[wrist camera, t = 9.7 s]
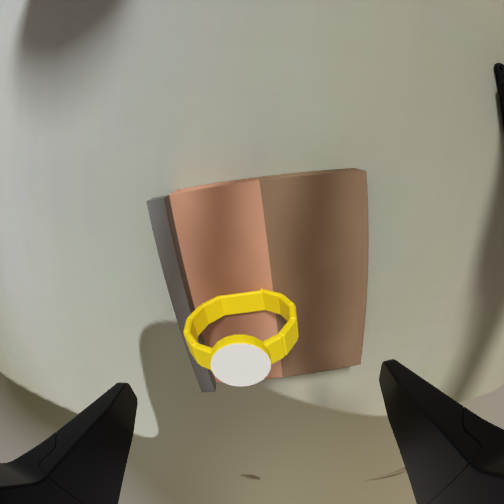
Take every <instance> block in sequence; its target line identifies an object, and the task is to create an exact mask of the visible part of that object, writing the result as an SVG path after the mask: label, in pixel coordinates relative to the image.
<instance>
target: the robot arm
mask: <svg viewBox="0 0 504 504" xmlns="http://www.w3.org/2000/svg"><path fill="white" fill-rule="evenodd" d="M495 71H496V76H497V81H498V86H499V92H500V98H501V105H502V113H503V122H504V65H503V64H501V63H496V64H495ZM379 382H380V387H381V391H382V395H383V399H384V403H385V407H386V411H387V415H388V419H389V422H390V424H391V427H392V430H393V433H394V436H395V438H396V441H397V444H398V447H399V449H400V453H401V455H402V458H403V461H404V464H405V467H406V470H407V473H408V476H409V480H410V482H411V486H412V489H413V492H414V496H415V499H416V502H417V504H504V430H503V429H501V428H499V427H497V426H495V425H493V424H491V423H489V422H488V421H486V420H484V419H482V418H480V417H479V416H477V415H476V414H474V413H473V412H471V411H470V410H468V409H467V408H465V407H464V408H463V406H462V405H461V404H459V403H458V402H456V401H455V400H453V399H452V398H450V397H449V396H447V395H446V394H444V393H443V392H441V391H440V390H439V389H437V388H436V387H434V386H433V385H431V384H430V383H428V382H427V381H425V380H424V379H422V378H421V377H420V376H418V375H417V374H415V373H414V372H412V371H411V370H409V369H408V368H406V367H405V366H403V365H402V364H401V363H399V362H398V361H396V360H394V359H391V360H387V361H384V362H383V363H382V367H381V372H380V377H379ZM136 410H137V397H136V395H135V394H134V392H133V390H132V388H131V386H130V385H129V384H128V383H117V384H116V385H114V386H113V387H112V388H111V389H109V390H108V391H107V392H106V393H104V394H103V395H102V396H101V397H99V398H98V399H97V400H96V401H94V402H93V403H92V404H91V405H89V406H88V407H87V408H86V409H84V410H83V411H82V412H81V413H79V414H78V415H77V416H76V417H74V418H73V419H72V420H71V421H69V422H68V423H67V424H65V425H64V426H63V427H62V428H60V429H59V430H58V431H57V433H54V434H53V435H51V436H50V437H49V438H48V439H46V440H45V441H43V442H42V443H41V444H39V445H38V446H36V447H35V448H33V449H32V450H30V451H28V452H27V453H25V454H23V455H22V456H20V457H19V458H17V459H15V460H13V461H11V462H8V463H0V504H118V501H119V496H120V491H121V486H122V481H123V476H124V472H125V467H126V463H127V458H128V454H129V450H130V446H131V442H132V437H133V431H134V424H135V417H136Z"/></svg>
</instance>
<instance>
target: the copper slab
mask: <svg viewBox="0 0 504 504" xmlns="http://www.w3.org/2000/svg"><path fill="white" fill-rule="evenodd" d="M147 206H148V210H149V215H150V220H151V224H152V229H153V233H154V237H155V241H156V245H157V250H158V254H159V258H160V261H161V265H162V269H163V273H164V277H165V280H166V284H167V288H168V291H169V295H170V298H171V302H172V305H173V308H174V312H175V315H176V318H177V321H178V325H179V328H180V331H181V334H182V337H183V340H184V343H185V346H186V349H187V352H188V355H189V358H190V361H191V364H192V366H193V369H194V372H195V375H196V378H197V380H198V383H199V385H200V388H201V391H202V392H215V388H216V382H222V381H220V380H219V379H218V378H217V377H215V376H214V374H213V373H212V371H211V370H210V369H207V368H205V367H202V366H201V365H200V364H198V363H197V361H196V360H195V359H194V357H193V356H192V354H191V353H190V350H189V348H188V345H187V342H186V340H185V337H184V333H183V331H184V327H185V323H186V319H187V318H188V316H189V315H190V314H191V313H192V312H193V311H194V310H195V309H196V308H197V307H198V306H199V305H200V306H201V304H203V303H205V302H207V301H209V300H210V299H212V298H214V297H216V296H222V295H229V294H237V293H244V292H251V291H258V290H260V289H263V290H264V289H266V290H270V291H274V292H278V293H281V294H283V295H285V296H286V297H287V298H288V299H290V300H291V301H292V302H293V303H294V304H295V306H296V314H297V323H298V336H299V337H298V340H297V342H296V343H295V345H294V346H293V347H292V349H291V350H290V352H289V353H288V354H287V355H286V356H285V357H284V358H282V359H280V360H278V361H277V362H275V363H273V364H271V369H270V371H269V373H268V375H267V376H266V377H265V378H264V379H269V378H278V377H287V376H294V375H302V374H309V373H315V372H322V371H328V370H333V369H339V368H344V367H349V366H354V365H359V364H360V363H361V355H362V346H363V337H364V327H365V315H366V301H367V282H368V194H367V175H366V171H364V170H360V169H356V168H350V169H335V170H323V171H311V172H301V173H291V174H282V175H273V176H265V177H257V178H249V179H242V180H235V181H228V182H221V183H214V184H208V185H202V186H196V187H190V188H184V189H179V190H177V191H175V192H173V193H172V194H170V195H166V196H161V197H156V198H152V199H150V200H148V201H147ZM286 323H287V320H286V319H285V318H284V317H283V316H282V315H280V314H277V313H274V312H270V311H267V310H263V311H256V312H248V313H241V314H233V315H225V316H223V317H221V318H219V319H218V320H216V321H214V322H212V323H210V324H208V325H207V327H206V328H205V329H204V330H203V331H202V332H201V333H200V335H199V336H198V341H197V342H198V343H199V344H202V345H205V346H208V347H211V348H213V346H214V345H215V344H216V343H217V342H218V341H219V340H221V339H223V338H224V337H227V336H231V335H239V334H244V335H249V336H253V337H255V338H257V339H259V340H261V341H262V342H263V341H265V340H267V339H269V338H271V337H273V336H275V335H276V334H278V333H279V332H280V330H281V329H282V328H283V327H284V325H285V324H286Z"/></svg>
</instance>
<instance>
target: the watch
mask: <svg viewBox="0 0 504 504" xmlns="http://www.w3.org/2000/svg"><path fill="white" fill-rule="evenodd" d="M263 310H267V311H270V312H274V313H277V314H280V315H282V316H283V317H284V318H285V319H286V320H287V323H286V324H285V325H284V327H283V328H282V329H281V330H280V332H279V333H278V334H276V335H275V336H273V337H271V338H269V339H267V340H265V341H263V342H262V341H261V340H259V339H257V338H255V337H253V336H249V335H244V334H239V335H231V336H227V337H224V338H223V339H221V340H219V341H218V342H217V343H216V344H215V345H214V346H213V348H211V347H208V346H205V345H202V344H199V343H198V342H197V341H198V336H199V335H200V333H201V332H202V331H203V330H204V329H205V328H206V327H207V325H208V324H210V323H212V322H214V321H216V320H218V319H219V318H221V317H223V316H225V315H233V314H241V313H248V312H256V311H263ZM183 333H184V337H185V340H186V342H187V345H188V348H189V350H190V353H191V354H192V356H193V357H194V359H195V360H196V361H197V363H198V364H200V365H201V366H202V367H205V368H207V369H210V370H211V371H212V373H213V374H214V376H215V377H217V378H218V379H219V380H220V381H222V382H224V383H226V384H228V385H233V386H249V385H254V384H256V383H258V382H260V381H262V380H263V379H264V378H265V377H266V376H267V375H268V373H269V371H270V369H271V364H273V363H275V362H277V361H278V360H280V359H282V358H284V357H285V356H286V355H287V354H288V353H289V352H290V350H291V349H292V347H293V346H294V345H295V343H296V342H297V340H298V337H299V336H298V323H297V314H296V306H295V304H294V303H293V302H292V301H291V300H290V299H288V298H287V297H286V296H285V295H283V294H281V293H278V292H274V291H270V290H266V289H264V290H263V289H260V290H258V291H251V292H244V293H237V294H229V295H222V296H216V297H214V298H212V299H210V300H209V301H207V302H205V303H203V304H201V306H200V305H199V306H198V307H197V308H196V309H195V310H194V311H193V312H192V313H191V314H190V315H189V316H188V318H187V319H186V323H185V327H184V331H183Z"/></svg>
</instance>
